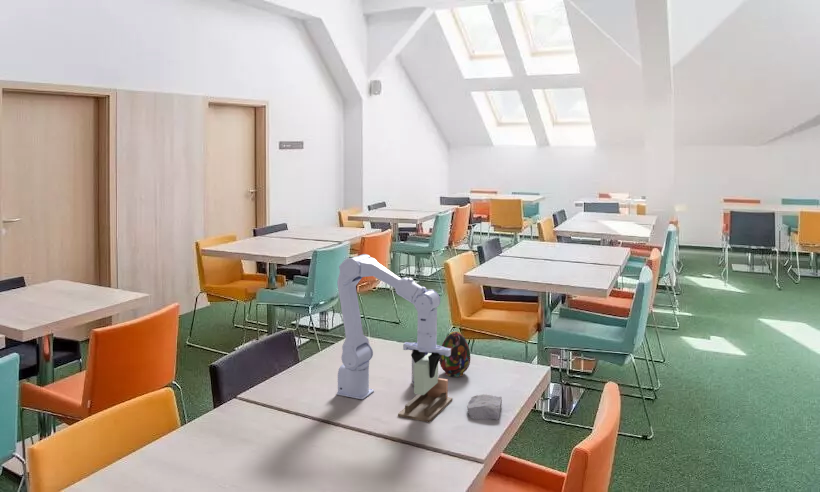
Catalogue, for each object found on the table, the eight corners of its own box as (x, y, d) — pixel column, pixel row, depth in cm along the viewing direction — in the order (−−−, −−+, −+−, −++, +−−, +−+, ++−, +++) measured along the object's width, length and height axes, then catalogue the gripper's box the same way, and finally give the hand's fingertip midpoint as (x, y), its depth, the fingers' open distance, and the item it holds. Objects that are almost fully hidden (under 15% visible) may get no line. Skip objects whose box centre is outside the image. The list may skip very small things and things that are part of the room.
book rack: (397, 416, 188) (398, 393, 187) (422, 394, 204) (422, 374, 203) (429, 422, 184) (430, 399, 183) (452, 400, 200) (452, 379, 199)
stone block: (467, 424, 187) (502, 420, 185) (464, 408, 187) (499, 404, 185) (471, 409, 199) (503, 406, 197) (468, 394, 198) (501, 391, 196)
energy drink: (427, 386, 211) (428, 350, 210) (411, 386, 211) (411, 350, 210) (427, 380, 217) (428, 345, 215) (411, 380, 217) (412, 345, 215)
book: (414, 393, 188) (414, 363, 187) (428, 381, 198) (429, 352, 197) (423, 395, 187) (423, 365, 186) (437, 382, 197) (438, 354, 196)
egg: (435, 377, 219) (436, 334, 217) (443, 367, 230) (444, 326, 227) (466, 381, 216) (467, 337, 214) (472, 370, 227) (473, 329, 224)
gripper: (398, 332, 189) (398, 376, 192) (445, 338, 184) (444, 384, 186) (408, 326, 196) (408, 369, 198) (453, 332, 190) (452, 376, 192)
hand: (426, 375), depth 192 cm, fingers closed on book, 3 cm apart
